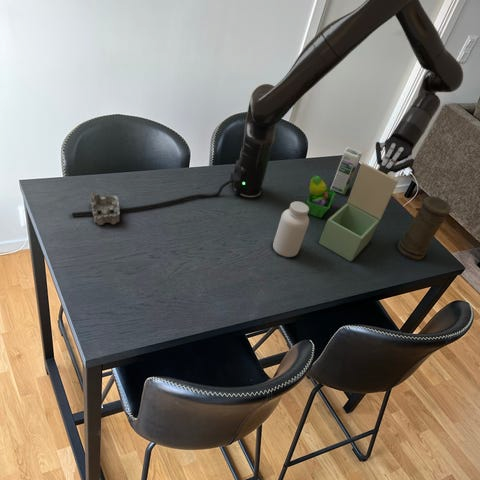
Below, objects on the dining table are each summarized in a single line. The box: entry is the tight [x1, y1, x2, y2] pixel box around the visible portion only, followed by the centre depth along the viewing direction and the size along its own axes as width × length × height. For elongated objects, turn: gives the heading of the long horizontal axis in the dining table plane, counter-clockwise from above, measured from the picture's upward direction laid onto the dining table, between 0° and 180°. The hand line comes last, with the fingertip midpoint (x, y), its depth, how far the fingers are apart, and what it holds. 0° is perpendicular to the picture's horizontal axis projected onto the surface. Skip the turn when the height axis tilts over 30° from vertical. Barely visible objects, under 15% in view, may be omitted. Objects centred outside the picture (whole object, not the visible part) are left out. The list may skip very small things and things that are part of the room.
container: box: [397, 195, 452, 261], centre depth 143 cm, size 9×9×18 cm
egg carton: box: [90, 192, 121, 226], centre depth 131 cm, size 11×8×4 cm
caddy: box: [318, 202, 381, 262], centre depth 142 cm, size 14×12×9 cm
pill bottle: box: [272, 200, 310, 258], centre depth 132 cm, size 8×8×15 cm
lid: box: [346, 162, 399, 220], centre depth 137 cm, size 14×12×1 cm
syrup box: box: [329, 146, 363, 196], centre depth 162 cm, size 6×6×14 cm
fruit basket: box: [306, 175, 336, 219], centre depth 151 cm, size 11×9×11 cm
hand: (377, 179), depth 135 cm, fingers closed
